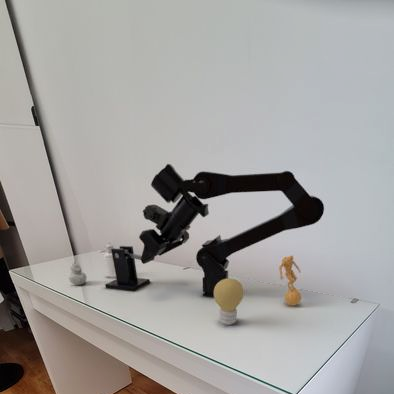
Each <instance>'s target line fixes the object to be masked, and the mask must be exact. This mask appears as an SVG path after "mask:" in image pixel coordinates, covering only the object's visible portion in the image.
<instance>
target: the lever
mask: <svg viewBox="0 0 394 394" xmlns="http://www.w3.org/2000/svg"><path fill="white" fill-rule="evenodd" d="M121 249H122V248H121ZM125 253H126V259H127V258H129V257H130V258H134V259H135V260H139V261H141V257H142V255H140V254H136V253H134V254H132V253H129V250H127V249H125ZM154 260H155V257H153V258H152V259H150V260H148V261H146V262H144V263H143V262H142V261H141V264H143V265H145V264H147V263H149V262H152V261H154Z"/></svg>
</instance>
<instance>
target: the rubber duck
mask: <svg viewBox="0 0 394 394" xmlns="http://www.w3.org/2000/svg"><path fill="white" fill-rule="evenodd" d="M68 280H69V282H70V283H71V284H74V285H76V286H80V285H84V284H85V283H86V282H87V274H86V273H85V272H83V271H82V267H81V265H80V264H79V263H78V262H77V261H76V260H73V262H72V263H71V265H70V275H68Z"/></svg>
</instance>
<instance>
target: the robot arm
mask: <svg viewBox="0 0 394 394" xmlns="http://www.w3.org/2000/svg"><path fill="white" fill-rule="evenodd" d="M150 186H151V188H152V189H153V190H154V191H155V192H156V193H157V194H158V195H159V196H160V197H161V198H162V199H163V200H164V202H166V203H167V204H170V203H173V204H175V203H176V204H175V206H174V207H173V209H171V211H168V210H166V209H164V208H162V207H161V206H159V205H157V204H148V205H146V206H144V209H143V210H142V213H143V218H144V219H145V220H147V221H150V222H151V223H153V224H155V228H156V229H157V230H158V231H159V233H158V232H157V231H156V230H155V228H148V229H145V230H142V231H141V233H140V234H139V236H138V239H139V240H140V241H141V242H142V243H143V250H142V254H141V256H142V257H141V260H140V261H141V263H142V262H143V263H144V262H146V261H148V260H150V259H152V258H153V257H154V258H155V257H157V256H160V257H161V256H162V255H164V254H167V253H169V252H171V251H173V250H174V249H177V248H178V247H180V246H182V245H183V244H186V243H187V242H188V241H189V239H190V233H189V232H188V231H189V230H190V229H191V224H192V223H193V222H194V220H195V219H196V218H197V217H198V216H199V215H200V216H201V217H202V218H205V217H207V216H209V214H210V212H209V203H203V202H202V201H201V200H208V199H213V198H216V197H221V196H225V195H229V194H235V193H236V194H237V193H256V192H257V193H258V192H259V193H260V192H282V194H283V195H284V196H285V197H286V198H287V200H288V201H289V202H290V203H291V204H292V205H290V206H289V207H288V208H286V209H285V210H284V211H283V212H281V213H279V214H278V215H275V216H274V217H272V218H269V219H267V220H265V221H263V222H261V223H259V224H256V225H254V226H252V227H250V228H247V229H246V230H243V231H241V232H240V233H237V234H235V235H233V236H231V237H228V238H224V239H222V237H221V235H220V234H219V235H217V236H216V237H215V238H213V239H210V240H206V241H205V242H204V243H202V244H201V248H200V249H198V251H197V252H196V256H195V260H196V263H197V265H198V266H199V267H200V268H201V269H202V271H203V277H202V292H203V294H202V296H203V297H213V298H214V288H215V286H216V284H217V283H218V282H220V281H221V280H223V279H228V278H229V270H227V268H228V266H229V264H230V260H228V257H230V256H232V255H233V254H235V253H237V252H239V251H242V250H244V249H246V248H249V247H251V246H253V245H255V244H257V243H259V242H262V241H264V240H266V239H268V238H271V237H274V236H275V235H277V234H280V233H282V232H284V231H289V230H296V229H300V228H304V227H308V226H311V225H314V224H316V223H318V222H319V221H320V220H321V218H322V217H323V215H324V212H325V204H324V202H323V200H321V198H319V197H317V196H315V195H310V194H309V193H308V192H307V190H306V189H305V188H304V187H303V185H302V184H301V183H300V182H299V181H298V180H297V178H295V175H294V174H293V172H291V171H288V170H284V171H281V172H269V173H267V172H266V173H252V174H251V173H250V174H234V175H232V174H225V173H220V172H214V171H213V172H212V171H199V172H197V173H196V174H195V176H194V177H193V178H191V179H184V178H183V177H182V176H181V174H179V173H178V172H177V171H176V169H175V167H174V166H173V165H172V164H171V163H170V164H169V163H166V165H165V166H164V167H163V168H162V169H161V170H160V171H158V173H156V174H155V175H154V176H153V179H152V180H151V183H150ZM191 193H193V194H194V195H192V194H191ZM143 263H142V264H143Z"/></svg>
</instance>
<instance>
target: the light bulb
mask: <svg viewBox="0 0 394 394" xmlns="http://www.w3.org/2000/svg"><path fill="white" fill-rule="evenodd" d="M244 295H245V292H244V287H243V285H242V283H241V282H240V281H238V280H237V279H234V278H229V277H228V279H223V280H221V281H220V282H218V283H217V284H216V286H215V288H214V297H213V298H214V302H215V303H216V305H218V307H219V308H220V309H219V322H220V323H222V325H227V326H229V325H233V324H235V323H236V322H237V316H238V314H237V312H238V310H237V308H238V307H239V305H240V304H241V303H242V300H243V298H244Z"/></svg>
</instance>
